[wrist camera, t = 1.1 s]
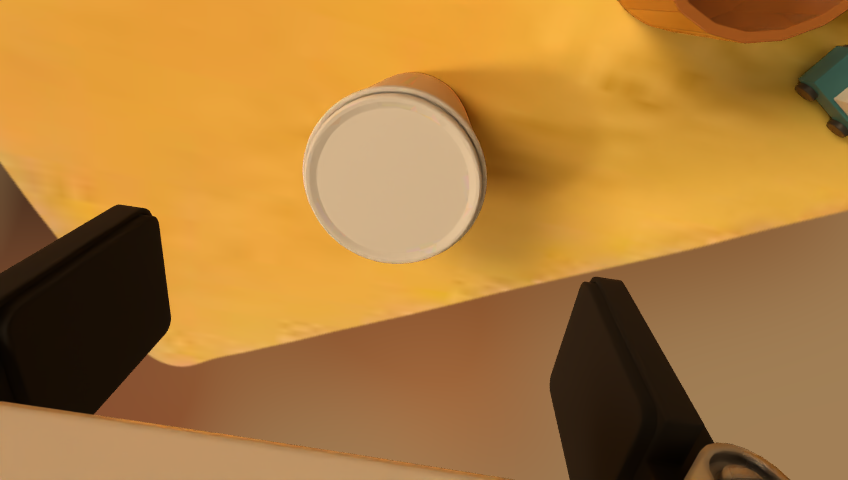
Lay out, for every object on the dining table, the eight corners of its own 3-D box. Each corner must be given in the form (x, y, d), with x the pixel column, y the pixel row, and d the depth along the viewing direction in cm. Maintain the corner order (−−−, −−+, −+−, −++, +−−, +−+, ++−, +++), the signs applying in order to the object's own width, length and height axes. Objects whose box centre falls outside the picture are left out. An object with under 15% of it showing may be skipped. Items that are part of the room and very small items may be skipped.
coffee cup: (428, 212, 37) (415, 299, 27) (325, 141, 35) (265, 203, 25) (506, 114, 34) (527, 169, 23) (396, 28, 32) (362, 44, 21)
